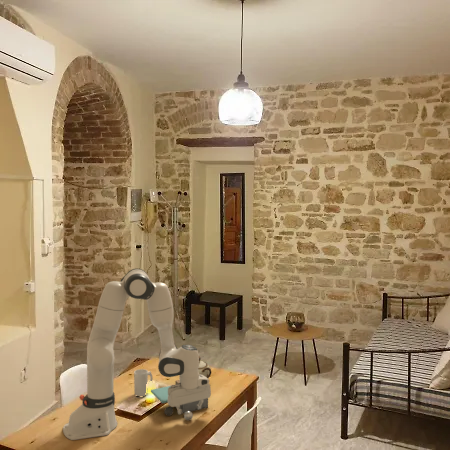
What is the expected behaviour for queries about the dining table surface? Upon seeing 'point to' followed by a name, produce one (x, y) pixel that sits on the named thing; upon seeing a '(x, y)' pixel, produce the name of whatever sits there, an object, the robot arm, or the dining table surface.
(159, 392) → the lid
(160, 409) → the dining table surface
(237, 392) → the dining table surface
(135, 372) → the mug
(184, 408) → the bin
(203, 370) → the sugar bowl
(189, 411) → the steel ball
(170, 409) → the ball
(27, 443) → the dining table surface
